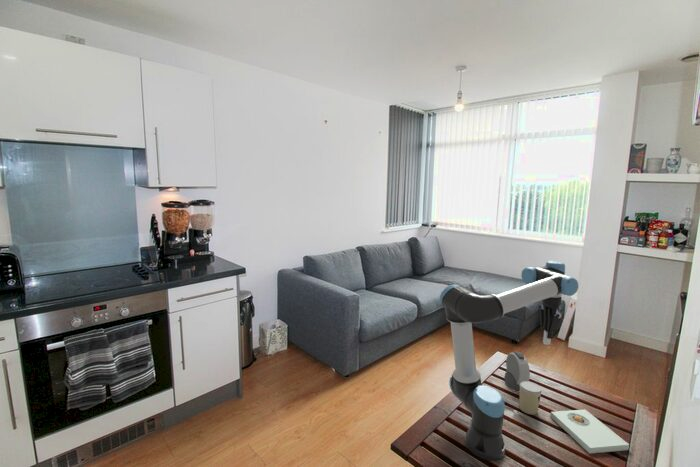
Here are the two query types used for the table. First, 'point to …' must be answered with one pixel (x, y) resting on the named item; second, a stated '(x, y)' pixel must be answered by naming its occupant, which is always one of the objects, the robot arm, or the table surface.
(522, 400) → the coffee cup
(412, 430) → the table surface
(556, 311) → the robot arm
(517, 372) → the alarm clock
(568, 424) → the plate
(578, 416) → the ball
